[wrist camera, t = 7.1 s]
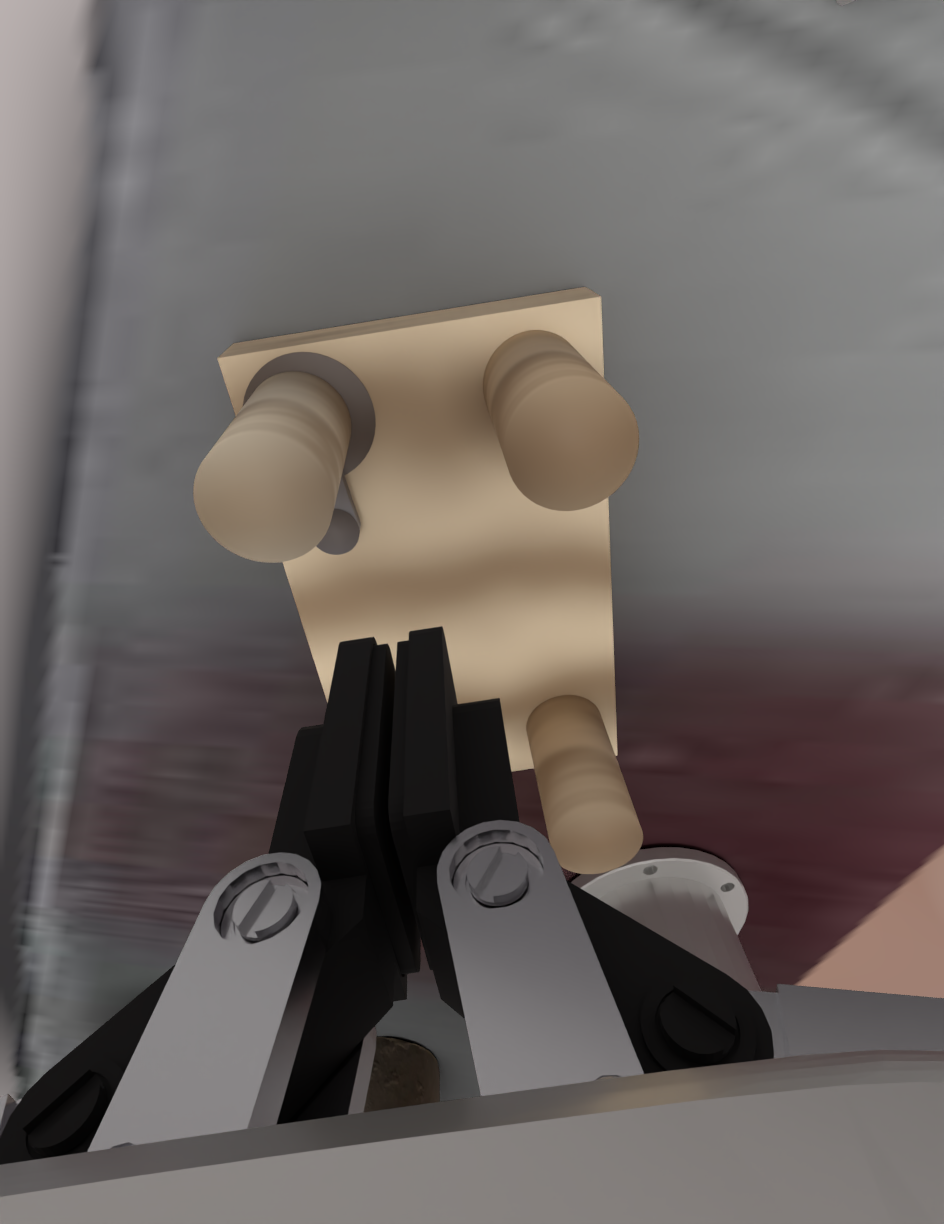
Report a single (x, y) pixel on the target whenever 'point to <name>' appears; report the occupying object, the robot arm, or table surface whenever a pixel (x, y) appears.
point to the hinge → (843, 2)
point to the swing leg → (281, 474)
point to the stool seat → (483, 527)
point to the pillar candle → (402, 1076)
